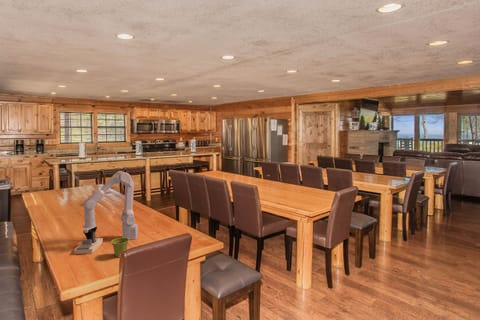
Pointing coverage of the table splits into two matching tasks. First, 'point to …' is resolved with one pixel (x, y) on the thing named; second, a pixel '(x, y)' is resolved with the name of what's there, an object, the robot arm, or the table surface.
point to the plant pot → (119, 245)
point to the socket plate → (92, 248)
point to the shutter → (85, 244)
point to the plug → (93, 238)
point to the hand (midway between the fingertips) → (90, 240)
